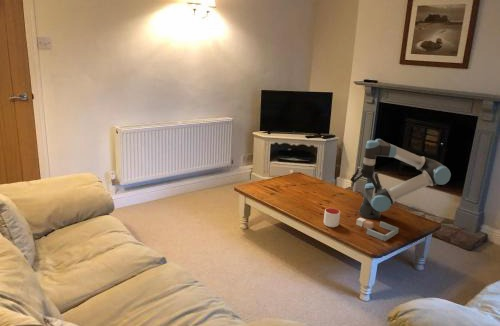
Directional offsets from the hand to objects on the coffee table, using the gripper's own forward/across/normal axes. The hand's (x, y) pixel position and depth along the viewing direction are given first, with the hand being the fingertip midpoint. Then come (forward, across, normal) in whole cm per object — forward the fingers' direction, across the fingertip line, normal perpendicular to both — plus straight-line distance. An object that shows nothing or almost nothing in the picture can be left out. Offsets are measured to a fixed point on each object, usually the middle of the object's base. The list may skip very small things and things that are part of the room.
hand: (363, 194), depth 274 cm
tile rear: (+21, +2, -2) cm, 21 cm away
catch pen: (+20, +18, -4) cm, 28 cm away
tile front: (+21, +8, -2) cm, 22 cm away
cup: (+22, -13, -16) cm, 30 cm away
